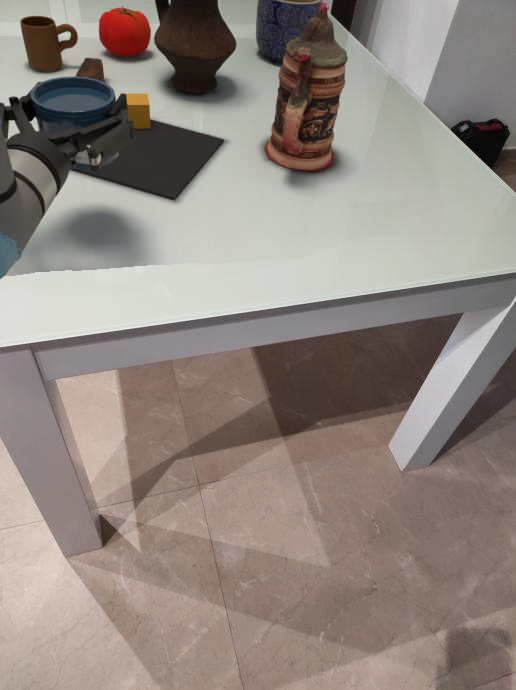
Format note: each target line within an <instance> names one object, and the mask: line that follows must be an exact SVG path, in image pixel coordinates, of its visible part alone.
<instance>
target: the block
mask: <svg viewBox="0 0 516 690" xmlns="http://www.w3.org/2000/svg"><path fill="white" fill-rule="evenodd" d="M123 94H126V96H127V107H128V118H129V120H132V121H133V122H134V129H151V124H150V119H151V107H150V100H149V96H148V93H129V92H127V93H126V92H125V93H123Z"/></svg>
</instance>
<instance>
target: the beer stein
mask: <svg viewBox="0 0 516 690" xmlns="http://www.w3.org/2000/svg"><path fill="white" fill-rule="evenodd" d="M327 5H328V3H327V2H323V3H321V5H320V8H319V10H318V14H317V15H316V17H313V18H310V21H307V24H306V26H305V28H304V30H303V33H302V35H301V36H300V37H297V38H295V39H293V40H291V41H288V43H287V45H286V52H285V56H284V59H283V63H282V64H281V67H280V68H279V70H278V79H279V81H278V84H279V85H278V88H277V97H276V101H275V114H274V120H273V122H272V124H271V128H270V131H271V136H270V138H269V140H268V141H267V142H266V144H264V151H265V153H266V156H267V158H268V160H270V161H272V162H274V163H275V164H277V165H280V166H281V167H284V168H289V169H291V170H293V171H297V172H298V171H303V172H322V170H323V169H326V168H329V166H330V165H332V164H333V163H334V161H336V160H335V157H334V156H335V155H334V154H333V153H334V151H333V150H332V144H333V141H334V139H335V132H334V128H335V124H336V123H335V122H336V120H337V117H338V113H339V107H340V105H341V103H340V98H341V95H342V91H343V89H344V88H345V86H346V65H347V62H348V59H349V56H347V51H346V50H345V49H344V48H343V47H342V46H341V45H340V44H339V43H338V42H337V40H336V38H335V29H334V23H333V21H332V20H331V18H330V17H329V15H328V10H329V9H330V6H327Z"/></svg>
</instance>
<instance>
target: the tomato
mask: <svg viewBox="0 0 516 690" xmlns="http://www.w3.org/2000/svg"><path fill="white" fill-rule="evenodd" d="M109 9H110V10H108V11H104V12H103V13H102V14H101V16H100V18H99V20H98V37H99V41H100V43H101V45H102V46H103V48H105V50H106V51H108V52H109V53H110V54H112V55H116V56H119V57H121V58H122V57H123V58H124V57H135V56H139V55H140V54H142V53H144V52H145V51H147V49H148V48H149V45H150V41H151V36H152V28H151V25H150V22H149V19H148V18H147V16H146V15H145V13H143V12H141V11H140V10H133V9H130V8H127V7H124V6H123V5H122V6H121V7H115V8H110V7H109Z"/></svg>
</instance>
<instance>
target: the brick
mask: <svg viewBox="0 0 516 690" xmlns="http://www.w3.org/2000/svg"><path fill="white" fill-rule="evenodd" d="M104 72H105V70H104V64H103V61H102V59H101V58H95V57H85V58H84V60H83V61H82V63H81V65H80V66H79V68H78V70H77V71H76V74H75V76H77V77H87V78H92V79H96V80H100V81H102V82H104V81H105V73H104Z"/></svg>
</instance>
